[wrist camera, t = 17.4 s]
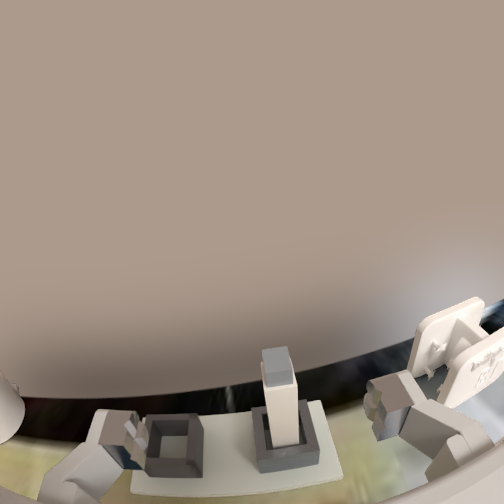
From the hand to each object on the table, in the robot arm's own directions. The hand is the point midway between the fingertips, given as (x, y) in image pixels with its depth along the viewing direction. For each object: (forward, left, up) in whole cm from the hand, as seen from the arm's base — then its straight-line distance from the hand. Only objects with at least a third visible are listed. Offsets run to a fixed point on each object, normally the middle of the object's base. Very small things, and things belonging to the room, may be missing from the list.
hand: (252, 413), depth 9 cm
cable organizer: (+30, +17, -28) cm, 45 cm away
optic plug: (+2, +14, -27) cm, 31 cm away
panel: (-5, +14, -28) cm, 32 cm away
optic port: (+2, +14, -27) cm, 31 cm away
